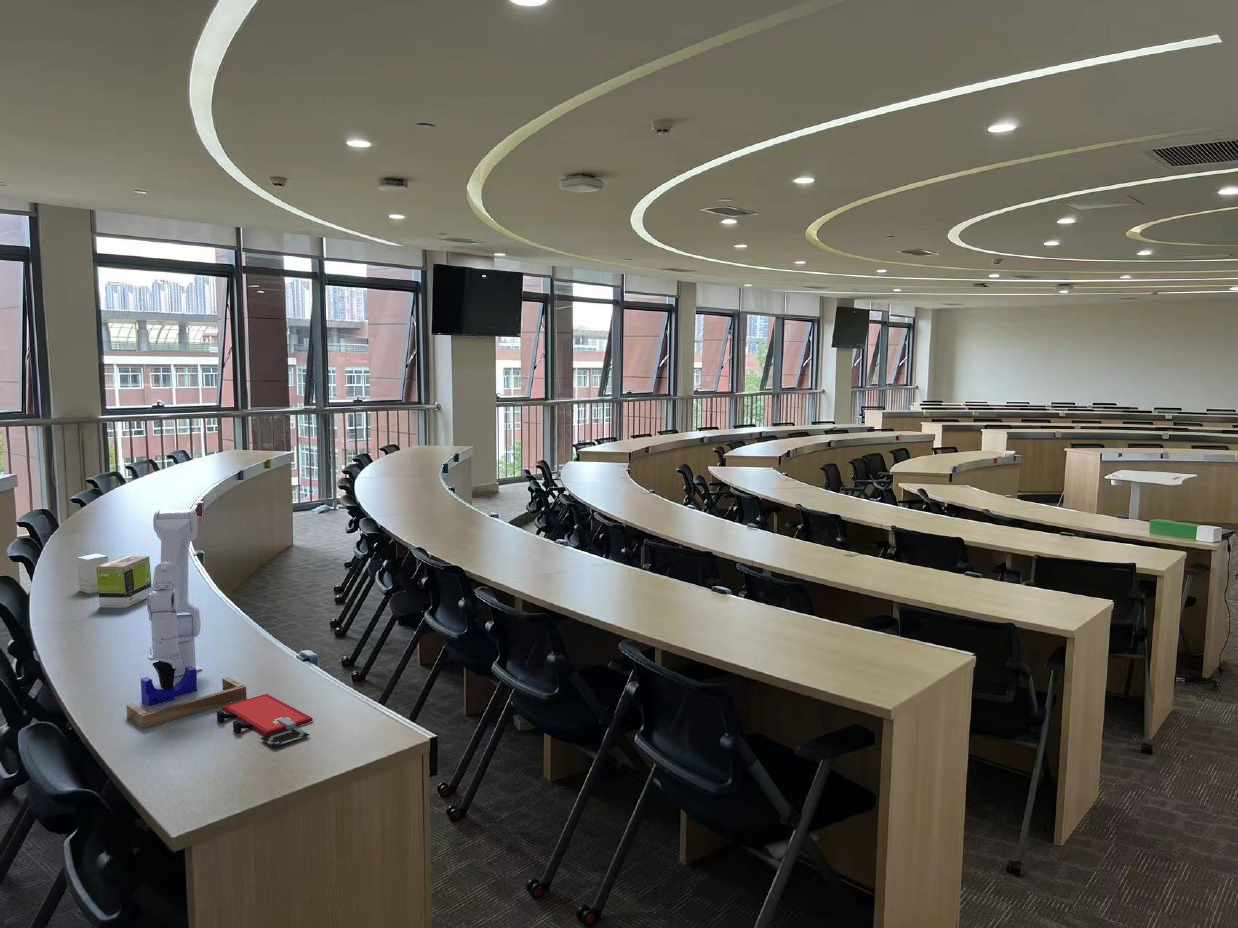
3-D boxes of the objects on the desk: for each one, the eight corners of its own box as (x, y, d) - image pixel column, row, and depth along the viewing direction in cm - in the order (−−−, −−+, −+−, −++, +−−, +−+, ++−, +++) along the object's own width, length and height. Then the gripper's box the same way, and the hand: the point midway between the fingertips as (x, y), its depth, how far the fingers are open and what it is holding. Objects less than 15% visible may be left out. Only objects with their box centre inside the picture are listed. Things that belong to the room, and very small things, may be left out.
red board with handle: (265, 753, 180) (329, 732, 191) (265, 741, 180) (329, 720, 191) (206, 716, 200) (266, 699, 211) (205, 704, 199) (266, 688, 211)
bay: (127, 716, 197) (126, 704, 197) (228, 687, 215) (228, 676, 215) (143, 728, 191) (142, 716, 190) (246, 697, 209) (246, 686, 209)
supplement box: (110, 589, 305) (108, 555, 303) (89, 594, 298) (86, 559, 297) (100, 586, 308) (98, 553, 307) (78, 590, 302) (76, 556, 301)
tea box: (125, 595, 297) (123, 555, 295) (153, 596, 297) (151, 555, 295) (97, 607, 282) (95, 565, 281) (126, 608, 282) (124, 565, 280)
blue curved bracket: (149, 706, 203) (148, 683, 202) (141, 701, 206) (140, 678, 205) (199, 692, 212) (198, 670, 211) (191, 687, 215) (191, 665, 214)
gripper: (136, 633, 211) (139, 684, 212) (159, 647, 201) (162, 700, 203) (165, 627, 216) (168, 677, 218) (189, 640, 207) (192, 692, 208)
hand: (167, 688), depth 211 cm, fingers closed, pressing on blue curved bracket
